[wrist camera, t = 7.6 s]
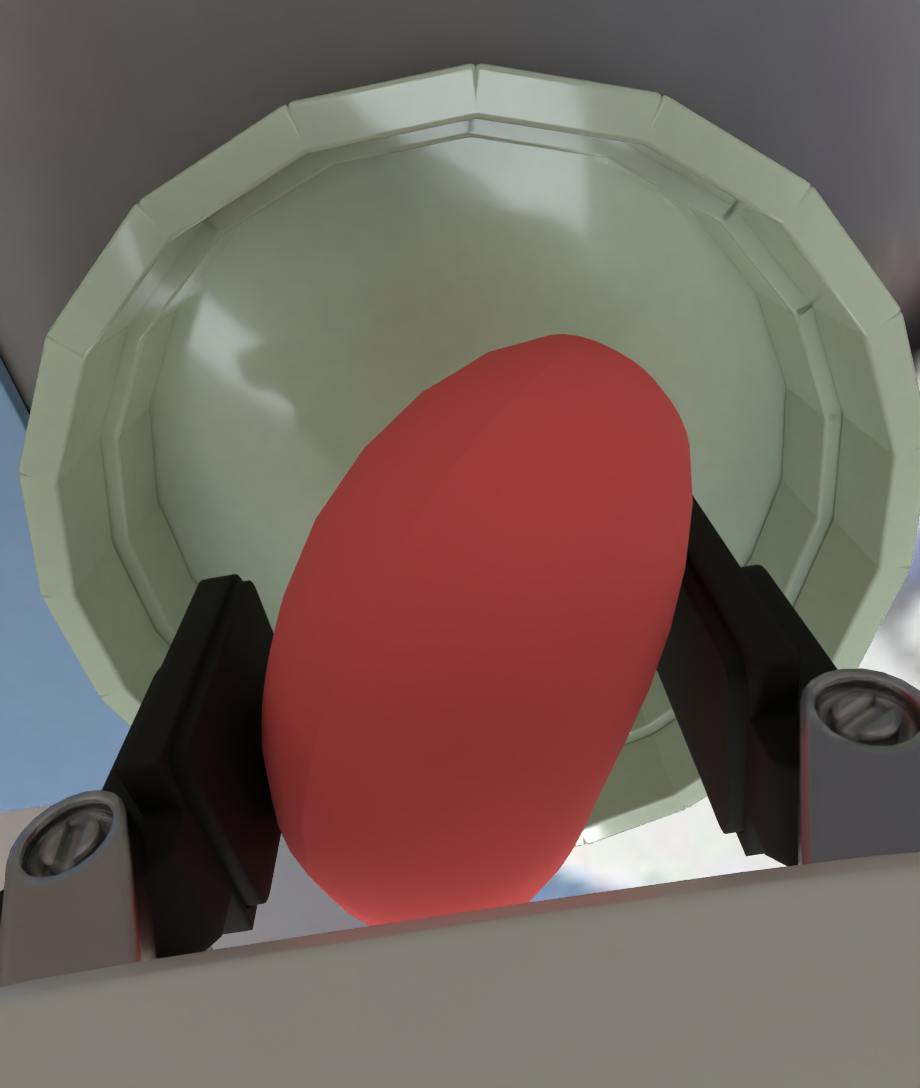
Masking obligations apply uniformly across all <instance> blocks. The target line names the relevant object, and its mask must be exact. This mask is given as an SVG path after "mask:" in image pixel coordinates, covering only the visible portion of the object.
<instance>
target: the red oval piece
mask: <svg viewBox="0 0 920 1088" xmlns="http://www.w3.org/2000/svg"><path fill="white" fill-rule="evenodd" d="M692 506H693V496H692V478H691V460H690V444H689V440H688V436H687V432H686V429H685V426H684V424H683V422H682V419H681V417H680V415H679V413H678V412H677V410H676V408H675V407H674V405H673V403H672V402H671V400H670V399H669V398H668V396H667V395H666V394H665V393H664V391H663V390H662V389H661V387H660V386H659V385H658V384H657V382H656V381H655V380H654V379H653V378H652V377H651V376H650V375H649V374H648V373H647V372H646V371H645V370H644V369H643V368H642V367H641V366H639V365H638V364H637V363H636V362H634V361H633V360H631V359H630V358H628V357H626V356H625V355H623V354H621V353H619V352H618V351H616V350H614V349H612V348H610V347H608V346H606V345H603V344H601V343H599V342H597V341H594V340H591V339H588V338H584V337H581V336H576V335H569V334H554V335H548V336H544V337H541V338H537V339H534V340H530V341H527V342H523V343H519V344H516V345H512V346H508V347H505V348H501V349H497V350H493V351H490V352H487V353H486V354H484V355H482V356H481V357H479V358H478V359H476V360H474V361H473V362H471V363H469V364H468V365H466V366H465V367H463V368H461V369H460V370H458V371H456V372H455V373H453V374H451V375H450V376H448V377H446V378H445V379H443V380H441V381H440V382H438V383H436V384H435V385H433V386H431V387H430V388H428V389H426V390H425V391H423V392H422V393H421V394H419V395H418V396H417V397H416V398H415V399H414V400H413V401H412V402H411V403H410V404H409V405H408V406H407V407H406V408H405V409H404V410H403V411H402V412H401V413H400V414H399V415H398V416H397V417H396V418H395V419H394V420H392V421H391V422H390V423H389V424H388V425H387V426H386V427H385V428H384V429H383V430H382V431H381V432H380V433H379V434H378V435H377V436H376V437H375V438H374V439H373V440H372V441H371V442H370V443H369V444H368V445H367V446H366V447H364V449H363V450H362V452H361V453H360V455H359V456H358V458H357V459H356V461H355V462H354V463H353V465H352V466H351V468H350V469H349V471H348V472H347V474H346V475H345V477H344V478H343V480H342V481H341V482H340V484H339V485H338V487H337V488H336V490H335V491H334V493H333V494H332V496H331V497H330V498H329V500H328V501H327V503H326V504H325V506H324V507H323V509H322V510H321V512H320V513H319V515H318V516H317V517H316V519H315V521H314V524H313V526H312V529H311V531H310V533H309V536H308V538H307V540H306V543H305V545H304V548H303V550H302V552H301V555H300V557H299V560H298V562H297V564H296V567H295V569H294V572H293V574H292V576H291V579H290V581H289V584H288V586H287V588H286V591H285V593H284V596H283V599H282V603H281V607H280V610H279V614H278V618H277V622H276V627H275V631H274V635H273V639H272V644H271V649H270V653H269V658H268V664H267V669H266V676H265V683H264V691H263V701H262V724H261V726H262V752H263V757H264V762H265V767H266V772H267V777H268V783H269V788H270V793H271V798H272V802H273V807H274V811H275V815H276V819H277V823H278V827H279V829H280V831H281V833H282V835H283V837H284V839H285V841H286V843H287V845H288V847H289V850H290V852H291V853H292V854H293V856H294V857H295V858H296V859H297V861H298V862H299V863H300V865H301V866H302V867H303V869H304V870H305V871H306V873H307V874H308V875H309V876H310V877H311V878H312V879H313V880H314V881H315V882H316V883H317V884H318V885H319V886H320V887H321V888H322V889H323V890H324V891H325V892H326V893H327V894H328V895H329V896H330V897H331V898H332V899H333V900H334V901H335V902H336V903H337V904H339V905H340V906H341V907H342V908H343V909H344V910H345V911H347V912H348V913H349V914H350V915H352V916H354V917H355V918H357V919H359V920H360V921H362V922H364V923H366V924H367V925H369V926H375V925H382V924H388V923H395V922H402V921H409V920H415V919H422V918H429V917H435V916H442V915H449V914H456V913H463V912H469V911H476V910H483V909H490V908H497V907H503V906H510V905H517V904H524V903H528V902H530V901H531V899H532V898H533V897H534V896H535V895H536V894H537V893H538V892H539V891H540V890H541V889H542V888H543V887H544V885H545V884H546V883H547V882H548V881H549V880H550V879H551V878H552V877H553V876H554V874H555V873H556V872H557V871H558V870H559V869H560V868H561V866H562V864H563V863H564V861H565V860H566V858H567V857H568V855H569V854H570V852H571V851H572V849H573V848H574V846H575V845H576V843H577V841H578V839H579V837H580V835H581V833H582V831H583V829H584V827H585V825H586V823H587V821H588V820H589V818H590V815H591V813H592V811H593V809H594V806H595V804H596V802H597V800H598V797H599V795H600V793H601V791H602V789H603V787H604V785H605V782H606V780H607V778H608V776H609V774H610V772H611V770H612V768H613V766H614V764H615V762H616V760H617V758H618V756H619V754H620V752H621V750H622V748H623V746H624V744H625V742H626V740H627V738H628V735H629V733H630V731H631V729H632V727H633V724H634V722H635V720H636V718H637V716H638V713H639V711H640V709H641V707H642V705H643V702H644V700H645V698H646V696H647V694H648V691H649V689H650V686H651V683H652V680H653V678H654V675H655V672H656V669H657V666H658V663H659V660H660V658H661V655H662V652H663V649H664V646H665V643H666V640H667V637H668V635H669V632H670V629H671V625H672V621H673V617H674V612H675V608H676V604H677V600H678V596H679V592H680V587H681V583H682V579H683V575H684V571H685V565H686V557H687V548H688V540H689V531H690V523H691V514H692Z"/></svg>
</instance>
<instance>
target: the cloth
mask: <svg viewBox="0 0 920 1088" xmlns="http://www.w3.org/2000/svg"><path fill="white" fill-rule="evenodd" d="M29 416H30V415H29V413H28V411H27V409H26V407H25V405H24V403H23V401H22V399H21V397H20V395H19V393H18V391H17V389H16V387H15V385H14V383H13V382H12V380H11V378H10V376H9V374H8V372H7V370H6V368H5V366H4V364H3V362H2V360H1V358H0V812H6V811H12V810H19V809H26V808H32V807H39V806H45V805H52V804H56V803H58V802H60V801H61V800H63V799H65V798H67V797H70V796H73V795H76V794H79V793H82V792H85V791H94V790H102V788H103V786H104V784H105V782H106V779H107V777H108V775H109V773H110V771H111V769H112V766H113V764H114V762H115V760H116V758H117V755H118V753H119V751H120V749H121V747H122V745H123V742H124V740H125V738H126V736H127V734H128V731H129V729H130V727H131V726H129V725H128V724H127V723H126V722H125V721H124V720H123V719H122V718H121V717H120V716H119V715H118V714H117V713H116V712H114V711H113V710H112V709H111V708H110V707H109V706H108V705H107V704H106V703H105V702H104V701H103V700H102V699H101V696H99V695H98V694H97V692H96V690H95V688H94V687H93V685H92V683H91V681H90V680H89V678H88V676H87V675H86V673H85V671H84V669H83V668H82V666H81V664H80V662H79V661H78V659H77V657H76V655H75V654H74V652H73V650H72V649H71V647H70V645H69V643H68V642H67V640H66V638H65V636H64V635H63V633H62V631H61V629H60V628H59V626H58V624H57V623H56V621H55V619H54V617H53V616H52V614H51V612H50V610H49V609H48V607H47V605H46V603H45V602H44V600H43V595H41V593H40V588H39V582H38V577H37V571H36V566H35V560H34V555H33V549H32V544H31V538H30V533H29V528H28V522H27V517H26V511H25V506H24V500H23V495H22V489H21V484H20V478H19V474H20V472H19V465H20V460H21V455H22V450H23V445H24V440H25V435H26V430H27V425H28V420H29Z"/></svg>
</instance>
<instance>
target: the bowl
mask: <svg viewBox="0 0 920 1088" xmlns="http://www.w3.org/2000/svg"><path fill="white" fill-rule="evenodd" d="M554 334H569V335H576V336H581V337H584V338H588V339H591V340H594V341H597V342H599V343H601V344H603V345H606V346H608V347H610V348H612V349H614V350H616V351H618V352H619V353H621V354H623V355H625V356H626V357H628V358H630V359H631V360H633V361H634V362H636V363H637V364H638V365H639V366H641V367H642V368H643V369H644V370H645V371H646V372H647V373H648V374H649V375H650V376H651V377H652V378H653V379H654V380H655V381H656V382H657V384H658V385H659V386H660V387H661V389H662V390H663V391H664V393H665V394H666V395H667V396H668V398H669V399H670V400H671V402H672V403H673V405H674V407H675V408H676V410H677V412H678V413H679V415H680V417H681V419H682V422H683V424H684V426H685V429H686V432H687V436H688V440H689V444H690V460H691V478H692V495H693V496H694V498H695V499H696V501H697V502H698V504H699V505H700V507H701V508H702V510H703V511H704V513H705V514H706V516H707V517H708V519H709V520H710V522H711V523H712V525H713V526H714V528H715V529H716V531H717V532H718V534H719V535H720V537H721V538H722V540H723V541H724V543H725V544H726V546H727V547H728V549H729V550H730V552H731V553H732V555H733V556H734V558H735V559H736V561H737V562H738V564H739V565H740V567H745V566H750V565H756V564H758V565H761V566H763V567H764V568H765V569H766V570H767V571H768V573H769V574H770V576H771V577H772V578H773V580H774V581H775V583H776V584H777V585H778V587H779V588H780V589H781V591H782V592H783V594H784V595H785V596H786V598H787V599H788V601H789V602H790V603H791V605H792V606H793V608H794V609H795V610H796V612H797V613H798V615H799V616H800V617H801V619H802V620H803V622H804V623H805V624H806V626H807V627H808V629H809V630H810V631H811V633H812V634H813V636H814V637H815V638H816V640H817V641H818V642H819V644H820V645H821V647H822V648H823V649H824V651H825V652H826V654H827V655H828V656H829V658H830V659H831V661H832V662H833V663H834V665H835V666H836V668H837V669H838V670H839V669H857V668H858V667H859V665H860V663H861V661H862V659H863V657H864V655H865V654H866V652H867V650H868V648H869V646H870V644H871V642H872V640H873V638H874V637H875V635H876V633H877V631H878V629H879V627H880V625H881V623H882V621H883V620H884V618H885V616H886V614H887V612H888V610H889V608H890V606H891V604H892V603H893V601H894V599H895V597H896V595H897V593H898V591H899V589H900V587H901V586H902V584H903V582H904V580H905V578H906V576H907V574H908V572H909V570H910V565H911V564H912V560H913V553H914V547H915V541H916V535H917V528H918V522H919V516H920V391H919V387H918V382H917V377H916V373H915V368H914V364H913V359H912V355H911V350H910V346H909V341H908V337H907V332H906V327H905V323H904V318H903V314H902V312H901V311H900V306H899V305H898V303H897V302H896V300H895V299H894V298H893V296H892V295H891V293H890V292H889V291H888V289H887V288H886V286H885V285H884V284H883V282H882V281H881V279H880V278H879V277H878V275H877V274H876V272H875V271H874V270H873V268H872V267H871V265H870V264H869V263H868V261H867V260H866V258H865V257H864V256H863V254H862V253H861V251H860V250H859V249H858V247H857V246H856V244H855V243H854V242H853V240H852V239H851V237H850V236H849V235H848V233H847V232H846V230H845V229H844V228H843V226H842V225H841V223H840V222H839V221H838V219H837V218H836V216H835V215H834V214H833V212H832V211H831V209H830V208H829V207H828V205H827V204H826V202H825V201H824V200H823V198H822V197H821V195H820V194H819V193H818V191H817V190H816V188H815V187H813V186H811V185H810V183H809V182H808V181H807V180H805V179H804V178H802V177H800V176H799V175H797V174H795V173H794V172H792V171H790V170H789V169H787V168H786V167H784V166H782V165H781V164H779V163H777V162H776V161H774V160H772V159H771V158H769V157H768V156H766V155H764V154H763V153H761V152H759V151H758V150H756V149H754V148H753V147H751V146H750V145H748V144H746V143H745V142H743V141H741V140H740V139H738V138H736V137H735V136H733V135H732V134H730V133H728V132H727V131H725V130H723V129H722V128H720V127H718V126H717V125H715V124H713V123H712V122H710V121H709V120H707V119H705V118H704V117H702V116H700V115H699V114H697V113H695V112H694V111H692V110H691V109H689V108H687V107H686V106H684V105H682V104H681V103H679V102H677V101H676V100H674V99H673V98H671V97H669V96H668V95H661V94H659V93H658V92H655V91H649V90H643V89H637V88H630V87H624V86H618V85H612V84H606V83H600V82H594V81H588V80H582V79H576V78H570V77H564V76H557V75H551V74H545V73H539V72H533V71H527V70H521V69H515V68H509V67H503V66H497V65H490V64H484V63H480V64H477V65H474V64H471V63H468V64H464V65H459V66H454V67H450V68H445V69H440V70H435V71H431V72H426V73H421V74H417V75H412V76H407V77H403V78H398V79H393V80H388V81H384V82H379V83H374V84H370V85H365V86H360V87H356V88H351V89H346V90H341V91H337V92H332V93H327V94H323V95H318V96H313V97H309V98H304V99H299V100H295V101H291V102H290V103H289V105H282V106H280V107H279V108H277V109H276V110H274V111H273V112H271V113H270V114H268V115H267V116H265V117H264V118H262V119H261V120H259V121H258V122H256V123H254V124H253V125H251V126H250V127H248V128H247V129H245V130H244V131H242V132H241V133H239V134H238V135H236V136H235V137H233V138H232V139H230V140H229V141H227V142H226V143H224V144H223V145H221V146H220V147H218V148H217V149H215V150H214V151H212V152H211V153H209V154H208V155H206V156H205V157H203V158H202V159H200V160H199V161H197V162H196V163H194V164H193V165H191V166H190V167H188V168H187V169H185V170H184V171H182V172H181V173H179V174H177V175H176V176H174V177H173V178H171V179H170V180H168V181H167V182H165V183H164V184H162V185H161V186H159V187H158V188H156V189H155V190H153V191H152V192H150V193H149V194H147V195H146V196H144V197H143V198H141V199H140V201H139V203H137V204H135V205H133V207H132V208H131V210H130V211H129V213H128V214H127V216H126V217H125V219H124V220H123V222H122V223H121V225H120V226H119V228H118V229H117V230H116V232H115V233H114V235H113V236H112V238H111V239H110V241H109V242H108V244H107V245H106V247H105V248H104V250H103V251H102V253H101V254H100V255H99V257H98V258H97V260H96V261H95V263H94V264H93V266H92V267H91V269H90V270H89V272H88V273H87V275H86V276H85V278H84V279H83V280H82V282H81V283H80V285H79V286H78V288H77V289H76V291H75V292H74V294H73V295H72V297H71V298H70V300H69V301H68V303H67V304H66V306H65V307H64V308H63V310H62V311H61V313H60V314H59V316H58V317H57V319H56V320H55V322H54V323H53V325H52V326H51V328H50V329H49V331H48V333H47V336H46V337H45V342H44V347H43V351H42V356H41V361H40V366H39V371H38V376H37V381H36V386H35V391H34V396H33V401H32V406H31V411H30V416H29V420H28V425H27V430H26V435H25V440H24V445H23V450H22V455H21V460H20V465H19V472H20V474H19V478H20V484H21V489H22V495H23V500H24V506H25V511H26V517H27V522H28V528H29V533H30V538H31V544H32V549H33V555H34V560H35V566H36V571H37V577H38V582H39V588H40V593H41V595H43V600H44V602H45V603H46V605H47V607H48V609H49V610H50V612H51V614H52V616H53V617H54V619H55V621H56V623H57V624H58V626H59V628H60V629H61V631H62V633H63V635H64V636H65V638H66V640H67V642H68V643H69V645H70V647H71V649H72V650H73V652H74V654H75V655H76V657H77V659H78V661H79V662H80V664H81V666H82V668H83V669H84V671H85V673H86V675H87V676H88V678H89V680H90V681H91V683H92V685H93V687H94V688H95V690H96V692H97V694H98V695H99V696H101V699H102V700H103V701H104V702H105V703H106V704H107V705H108V706H109V707H110V708H111V709H112V710H113V711H114V712H116V713H117V714H118V715H119V716H120V717H121V718H122V719H123V720H124V721H125V722H126V723H127V724H128V725H129V726H131V725H132V723H133V721H134V718H135V716H136V714H137V712H138V710H139V708H140V705H141V703H142V701H143V699H144V697H145V694H146V692H147V690H148V688H149V686H150V684H151V681H152V679H153V677H154V675H155V674H156V672H157V671H158V669H159V668H161V665H162V663H163V661H164V659H165V657H166V654H167V652H168V650H169V648H170V646H171V643H172V641H173V639H174V637H175V635H176V632H177V630H178V628H179V626H180V624H181V621H182V619H183V617H184V615H185V613H186V610H187V608H188V606H189V604H190V602H191V599H192V597H193V595H194V593H195V591H196V588H197V586H198V584H199V583H200V581H201V580H204V579H209V578H214V577H220V576H226V575H231V574H237V575H239V576H240V577H241V579H242V580H243V581H248V580H250V581H252V582H253V584H254V585H255V587H256V590H257V592H258V595H259V597H260V600H261V602H262V605H263V607H264V610H265V612H266V615H267V618H268V620H269V623H270V625H271V628H272V630H273V633H274V631H275V627H276V622H277V618H278V614H279V610H280V607H281V603H282V599H283V596H284V593H285V591H286V588H287V586H288V584H289V581H290V579H291V576H292V574H293V572H294V569H295V567H296V564H297V562H298V560H299V557H300V555H301V552H302V550H303V548H304V545H305V543H306V540H307V538H308V536H309V533H310V531H311V529H312V526H313V524H314V521H315V519H316V517H317V516H318V515H319V513H320V512H321V510H322V509H323V507H324V506H325V504H326V503H327V501H328V500H329V498H330V497H331V496H332V494H333V493H334V491H335V490H336V488H337V487H338V485H339V484H340V482H341V481H342V480H343V478H344V477H345V475H346V474H347V472H348V471H349V469H350V468H351V466H352V465H353V463H354V462H355V461H356V459H357V458H358V456H359V455H360V453H361V452H362V450H363V449H364V447H366V446H367V445H368V444H369V443H370V442H371V441H372V440H373V439H374V438H375V437H376V436H377V435H378V434H379V433H380V432H381V431H382V430H383V429H384V428H385V427H386V426H387V425H388V424H389V423H390V422H391V421H392V420H394V419H395V418H396V417H397V416H398V415H399V414H400V413H401V412H402V411H403V410H404V409H405V408H406V407H407V406H408V405H409V404H410V403H411V402H412V401H413V400H414V399H415V398H416V397H417V396H418V395H419V394H421V393H422V392H423V391H425V390H426V389H428V388H430V387H431V386H433V385H435V384H436V383H438V382H440V381H441V380H443V379H445V378H446V377H448V376H450V375H451V374H453V373H455V372H456V371H458V370H460V369H461V368H463V367H465V366H466V365H468V364H469V363H471V362H473V361H474V360H476V359H478V358H479V357H481V356H482V355H484V354H486V353H487V352H490V351H493V350H497V349H501V348H505V347H508V346H512V345H516V344H519V343H523V342H527V341H530V340H534V339H537V338H541V337H544V336H548V335H554ZM706 796H707V793H706V791H705V788H704V786H703V783H702V781H701V778H700V776H699V774H698V771H697V769H696V766H695V764H694V761H693V759H692V756H691V754H690V751H689V749H688V746H687V744H686V741H685V739H684V736H683V734H682V731H681V729H680V726H679V724H678V721H677V719H676V717H675V714H674V712H673V709H672V707H671V704H670V702H669V699H668V697H667V694H666V692H665V689H664V687H663V684H662V682H661V679H660V677H659V674H658V672H657V669H656V672H655V675H654V678H653V680H652V683H651V686H650V689H649V691H648V694H647V696H646V698H645V700H644V702H643V705H642V707H641V709H640V711H639V713H638V716H637V718H636V720H635V722H634V724H633V727H632V729H631V731H630V733H629V735H628V738H627V740H626V742H625V744H624V746H623V748H622V750H621V752H620V754H619V756H618V758H617V760H616V762H615V764H614V766H613V768H612V770H611V772H610V774H609V776H608V778H607V780H606V782H605V785H604V787H603V789H602V791H601V793H600V795H599V797H598V800H597V802H596V804H595V806H594V809H593V811H592V813H591V815H590V818H589V820H588V821H587V823H586V825H585V827H584V829H583V831H582V833H581V835H580V837H579V839H578V841H577V843H576V845H575V846H581V845H585V844H586V843H587V844H591V843H593V842H596V841H599V840H602V839H604V838H607V837H610V836H613V835H616V834H618V833H621V832H624V831H627V830H630V829H632V828H635V827H638V826H641V825H644V824H646V823H649V822H652V821H655V820H657V819H660V818H663V817H666V816H669V815H671V814H674V813H677V812H680V811H683V810H685V809H686V807H687V808H688V807H691V806H692V805H694V804H695V803H697V802H699V801H700V800H702V799H703V798H705V797H706Z"/></svg>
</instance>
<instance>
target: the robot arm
mask: <svg viewBox="0 0 920 1088" xmlns="http://www.w3.org/2000/svg"><path fill="white" fill-rule="evenodd" d="M692 496H693V495H692ZM273 635H274V633H273V630H272V628H271V625H270V623H269V620H268V618H267V615H266V612H265V610H264V607H263V605H262V602H261V600H260V597H259V595H258V592H257V590H256V587H255V585H254V584H253V582H252V581H250V580H248V581H243V580H242V579H241V577H240V576H239V575H237V574H231V575H226V576H220V577H214V578H209V579H204V580H201V581H200V583H199V584H198V586H197V588H196V591H195V593H194V595H193V597H192V599H191V602H190V604H189V606H188V608H187V610H186V613H185V615H184V617H183V619H182V621H181V624H180V626H179V628H178V630H177V632H176V635H175V637H174V639H173V641H172V643H171V646H170V648H169V650H168V652H167V654H166V657H165V659H164V661H163V663H162V665H161V668H159V669H158V671H157V672H156V674H155V675H154V677H153V679H152V681H151V684H150V686H149V688H148V690H147V692H146V694H145V697H144V699H143V701H142V703H141V705H140V708H139V710H138V712H137V714H136V716H135V718H134V721H133V723H132V725H131V727H130V729H129V731H128V734H127V736H126V738H125V740H124V742H123V745H122V747H121V749H120V751H119V753H118V755H117V758H116V760H115V762H114V764H113V766H112V769H111V771H110V773H109V775H108V777H107V779H106V782H105V784H104V786H103V788H102V790H94V791H85V792H82V793H79V794H76V795H73V796H70V797H67V798H65V799H63V800H61V801H60V802H58V803H56V804H54V805H52V806H50V807H49V808H48V809H46V810H45V811H44V812H43V813H41V814H40V815H39V816H37V817H36V818H35V819H34V820H33V821H32V822H31V823H30V824H29V825H28V826H27V827H26V828H25V829H24V830H23V831H22V832H21V833H20V835H19V837H18V838H17V840H16V841H15V843H14V845H13V846H12V848H11V850H10V853H9V857H8V860H7V864H6V874H5V884H4V889H3V890H2V891H1V892H0V1088H920V691H919V690H918V689H916V688H915V687H913V686H912V685H910V684H908V683H907V682H905V681H904V680H902V679H899V678H896V677H894V676H891V675H888V674H886V673H883V672H878V671H873V670H867V669H839V670H838V669H837V668H836V666H835V665H834V663H833V662H832V661H831V659H830V658H829V656H828V655H827V654H826V652H825V651H824V649H823V648H822V647H821V645H820V644H819V642H818V641H817V640H816V638H815V637H814V636H813V634H812V633H811V631H810V630H809V629H808V627H807V626H806V624H805V623H804V622H803V620H802V619H801V617H800V616H799V615H798V613H797V612H796V610H795V609H794V608H793V606H792V605H791V603H790V602H789V601H788V599H787V598H786V596H785V595H784V594H783V592H782V591H781V589H780V588H779V587H778V585H777V584H776V583H775V581H774V580H773V578H772V577H771V576H770V574H769V573H768V571H767V570H766V569H765V568H764V567H763V566H761V565H758V564H756V565H750V566H745V567H740V565H739V564H738V562H737V561H736V559H735V558H734V556H733V555H732V553H731V552H730V550H729V549H728V547H727V546H726V544H725V543H724V541H723V540H722V538H721V537H720V535H719V534H718V532H717V531H716V529H715V528H714V526H713V525H712V523H711V522H710V520H709V519H708V517H707V516H706V514H705V513H704V511H703V510H702V508H701V507H700V505H699V504H698V502H697V501H696V499H695V498H694V496H693V506H692V514H691V523H690V531H689V540H688V548H687V557H686V565H685V571H684V575H683V579H682V583H681V587H680V592H679V596H678V600H677V604H676V608H675V612H674V617H673V621H672V625H671V629H670V632H669V635H668V637H667V640H666V643H665V646H664V649H663V652H662V655H661V658H660V660H659V663H658V666H657V672H658V674H659V677H660V679H661V682H662V684H663V687H664V689H665V692H666V694H667V697H668V699H669V702H670V704H671V707H672V709H673V712H674V714H675V717H676V719H677V721H678V724H679V726H680V729H681V731H682V734H683V736H684V739H685V741H686V744H687V746H688V749H689V751H690V754H691V756H692V759H693V761H694V764H695V766H696V769H697V771H698V774H699V776H700V778H701V781H702V783H703V786H704V788H705V791H706V793H707V796H708V798H709V801H710V803H711V806H712V808H713V811H714V813H715V816H716V818H717V821H718V823H719V825H720V828H721V830H722V831H723V833H725V834H727V833H734V832H736V833H737V836H738V838H739V841H740V843H741V845H742V848H743V850H744V852H745V855H746V856H751V855H757V854H764V853H765V855H767V856H769V857H771V858H773V859H775V860H776V861H778V862H780V863H782V864H784V865H786V866H787V867H780V868H772V869H764V870H756V871H748V872H740V873H733V874H726V875H719V876H712V877H705V878H698V879H691V880H684V881H677V882H670V883H663V884H656V885H649V886H642V887H635V888H628V889H621V890H614V891H607V892H600V893H593V894H586V895H579V896H572V897H565V898H558V899H551V900H544V901H537V902H531V903H524V904H517V905H510V906H503V907H497V908H490V909H483V910H476V911H469V912H463V913H456V914H449V915H442V916H435V917H429V918H422V919H415V920H409V921H402V922H395V923H388V924H382V925H375V926H368V927H362V928H355V929H348V930H341V931H335V932H328V933H322V934H315V935H309V936H302V937H296V938H289V939H282V940H276V941H269V942H263V943H256V944H250V945H243V946H237V947H230V948H224V949H217V950H213V948H212V946H211V945H212V944H213V943H215V942H216V941H217V940H218V939H219V938H220V937H221V936H222V934H228V933H234V932H241V931H248V930H252V929H253V924H254V919H255V914H256V909H257V904H264V903H265V902H266V901H267V899H268V897H269V893H270V889H271V883H272V878H273V873H274V868H275V862H276V857H277V852H278V847H279V841H280V836H281V831H280V829H279V827H278V823H277V819H276V815H275V811H274V807H273V802H272V798H271V793H270V788H269V783H268V777H267V772H266V767H265V762H264V757H263V752H262V726H261V724H262V701H263V691H264V683H265V676H266V669H267V664H268V658H269V653H270V649H271V644H272V639H273Z"/></svg>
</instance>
